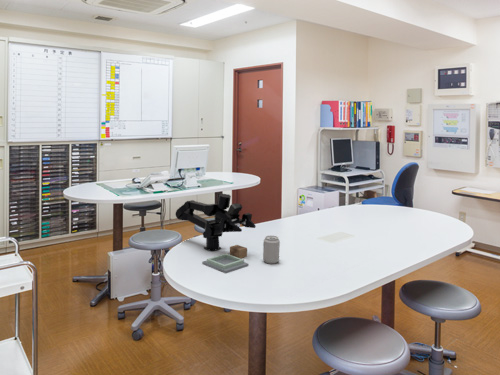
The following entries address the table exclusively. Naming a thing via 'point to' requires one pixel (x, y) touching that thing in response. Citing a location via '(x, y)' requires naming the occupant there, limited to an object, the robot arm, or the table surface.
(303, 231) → the table surface
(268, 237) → the can
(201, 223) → the robot arm
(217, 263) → the grey tray
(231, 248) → the brown rectangular block
